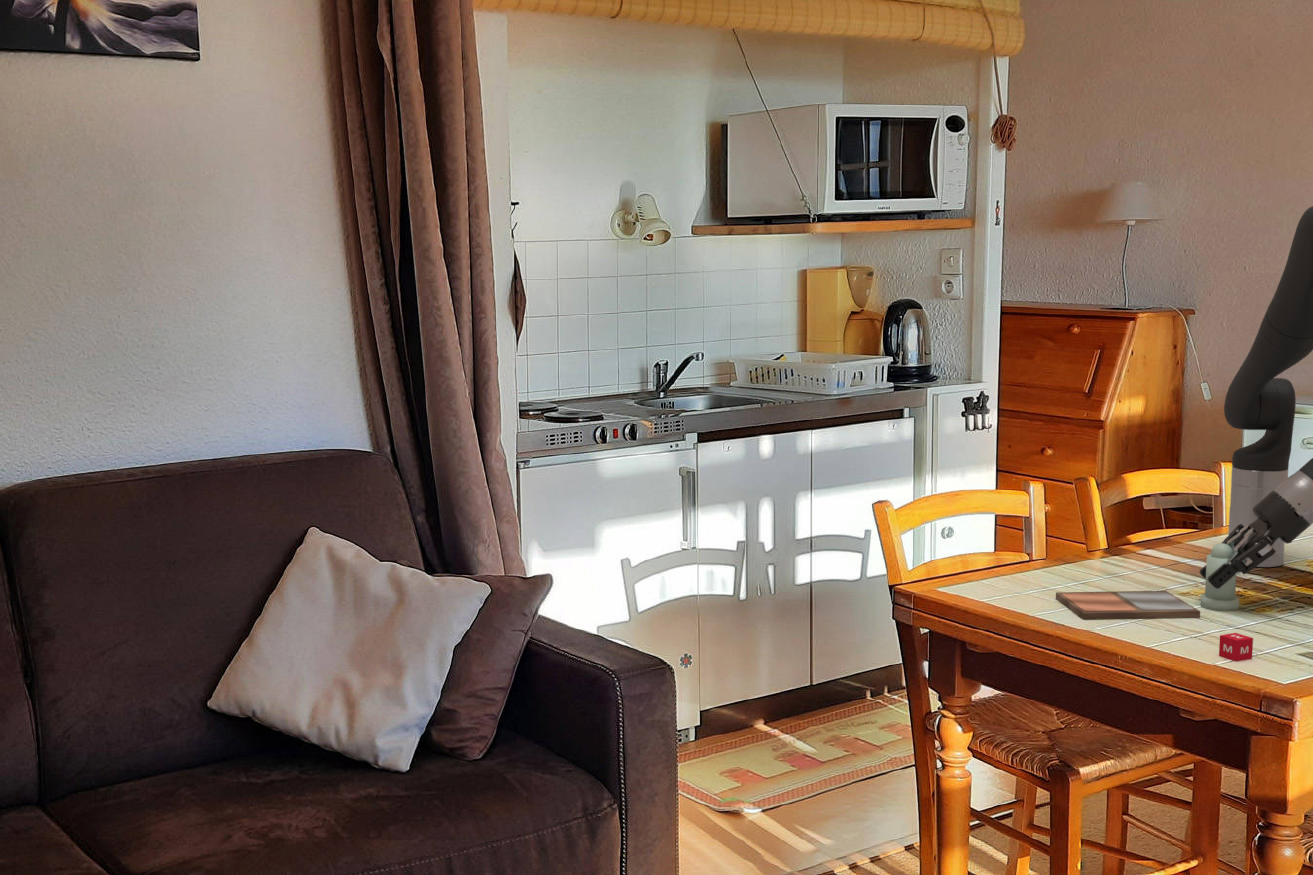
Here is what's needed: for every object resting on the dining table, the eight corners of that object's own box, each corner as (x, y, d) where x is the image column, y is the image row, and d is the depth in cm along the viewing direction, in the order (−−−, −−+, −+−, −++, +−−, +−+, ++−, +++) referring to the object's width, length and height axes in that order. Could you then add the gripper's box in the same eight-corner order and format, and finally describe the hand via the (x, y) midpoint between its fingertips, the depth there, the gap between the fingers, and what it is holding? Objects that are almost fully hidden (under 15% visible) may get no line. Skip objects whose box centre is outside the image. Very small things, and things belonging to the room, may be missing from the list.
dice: (1218, 656, 188) (1219, 635, 187) (1234, 653, 189) (1235, 632, 188) (1236, 662, 185) (1237, 640, 184) (1252, 659, 186) (1253, 637, 186)
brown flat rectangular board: (1055, 598, 220) (1056, 591, 219) (1165, 596, 220) (1165, 590, 220) (1083, 619, 207) (1083, 612, 207) (1200, 617, 207) (1200, 610, 207)
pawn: (1194, 602, 217) (1197, 540, 215) (1229, 601, 217) (1232, 539, 215) (1209, 611, 211) (1212, 547, 210) (1245, 610, 211) (1248, 546, 210)
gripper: (1262, 482, 217) (1179, 554, 221) (1290, 497, 203) (1202, 574, 207) (1295, 515, 217) (1212, 586, 221) (1325, 532, 203) (1237, 609, 207)
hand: (1208, 580), depth 214 cm, fingers closed on pawn, 4 cm apart
